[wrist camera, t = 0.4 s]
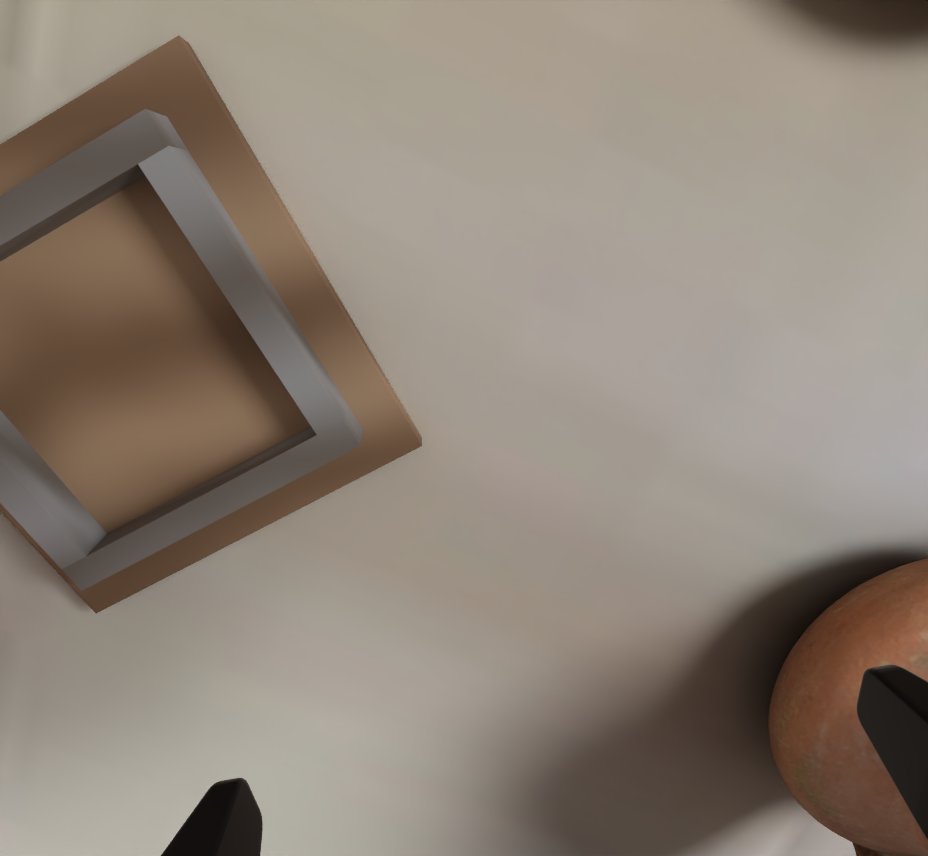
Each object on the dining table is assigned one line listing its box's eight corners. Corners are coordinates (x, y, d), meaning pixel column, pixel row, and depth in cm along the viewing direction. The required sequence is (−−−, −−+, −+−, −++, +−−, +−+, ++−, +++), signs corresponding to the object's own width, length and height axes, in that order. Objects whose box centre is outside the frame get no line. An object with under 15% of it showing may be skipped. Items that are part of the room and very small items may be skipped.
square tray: (421, 437, 22) (422, 462, 20) (105, 600, 23) (74, 640, 21) (188, 43, 17) (157, 19, 15) (-191, 274, 19) (-270, 283, 17)
